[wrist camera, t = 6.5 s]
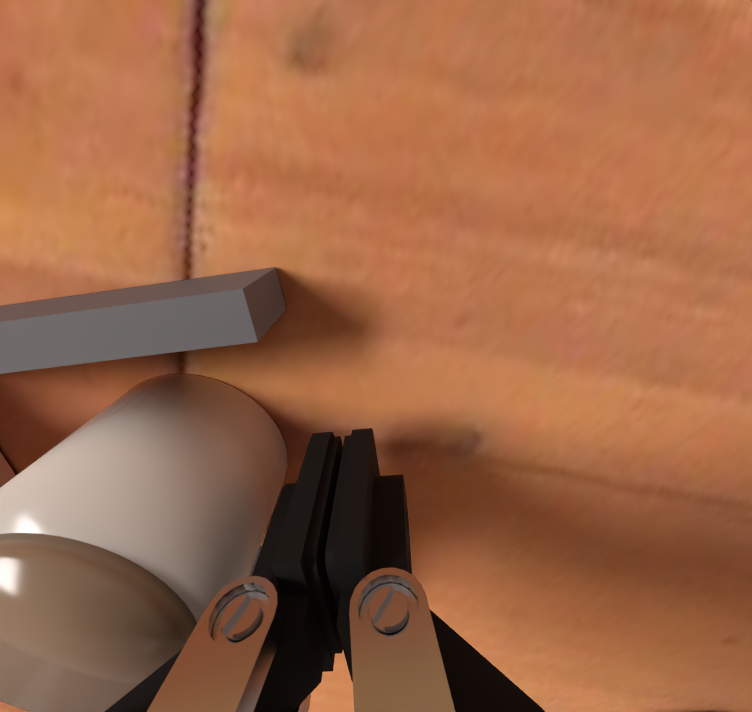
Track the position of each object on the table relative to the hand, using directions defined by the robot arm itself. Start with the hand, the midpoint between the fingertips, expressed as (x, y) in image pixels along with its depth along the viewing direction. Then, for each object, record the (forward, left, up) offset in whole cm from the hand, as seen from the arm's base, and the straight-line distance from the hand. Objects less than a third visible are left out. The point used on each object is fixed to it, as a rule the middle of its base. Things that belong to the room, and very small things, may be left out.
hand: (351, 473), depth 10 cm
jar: (+5, 0, -2) cm, 6 cm away
